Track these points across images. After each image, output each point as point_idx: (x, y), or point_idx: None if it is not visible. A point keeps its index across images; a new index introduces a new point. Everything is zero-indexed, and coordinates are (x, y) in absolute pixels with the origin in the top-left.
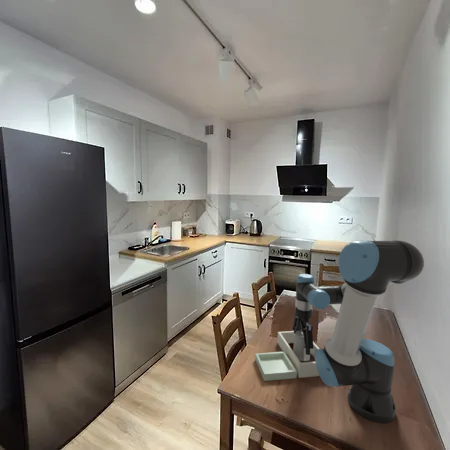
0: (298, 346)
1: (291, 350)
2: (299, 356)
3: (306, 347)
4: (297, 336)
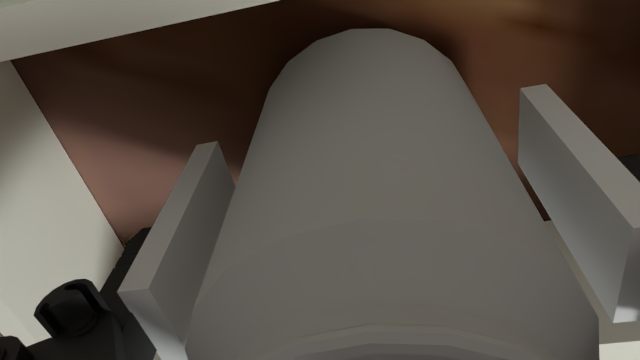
0: (247, 178)
1: (164, 1)
2: (263, 110)
3: (65, 325)
4: (297, 320)
